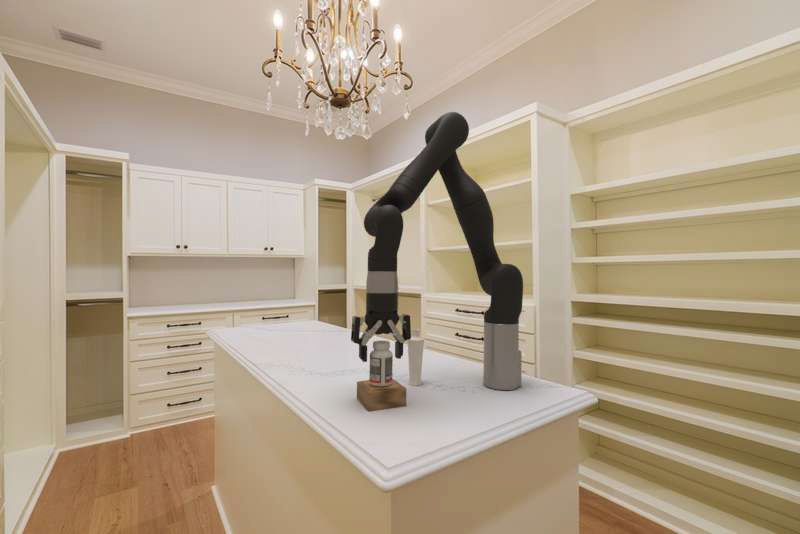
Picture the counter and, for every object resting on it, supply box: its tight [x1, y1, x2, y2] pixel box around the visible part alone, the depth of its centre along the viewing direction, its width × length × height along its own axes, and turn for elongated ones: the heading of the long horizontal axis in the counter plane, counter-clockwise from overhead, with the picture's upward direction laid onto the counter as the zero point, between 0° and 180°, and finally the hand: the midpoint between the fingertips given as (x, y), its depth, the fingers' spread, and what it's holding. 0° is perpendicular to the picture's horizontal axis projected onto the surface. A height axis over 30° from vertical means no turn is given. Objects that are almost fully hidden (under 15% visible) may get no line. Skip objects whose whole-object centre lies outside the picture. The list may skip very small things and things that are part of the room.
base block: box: [356, 378, 407, 412], centre depth 86 cm, size 9×9×4 cm
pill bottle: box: [369, 340, 394, 387], centre depth 86 cm, size 5×5×10 cm
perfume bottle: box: [407, 328, 425, 387], centre depth 101 cm, size 5×4×15 cm
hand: (381, 359), depth 86 cm, fingers open, 8 cm apart
